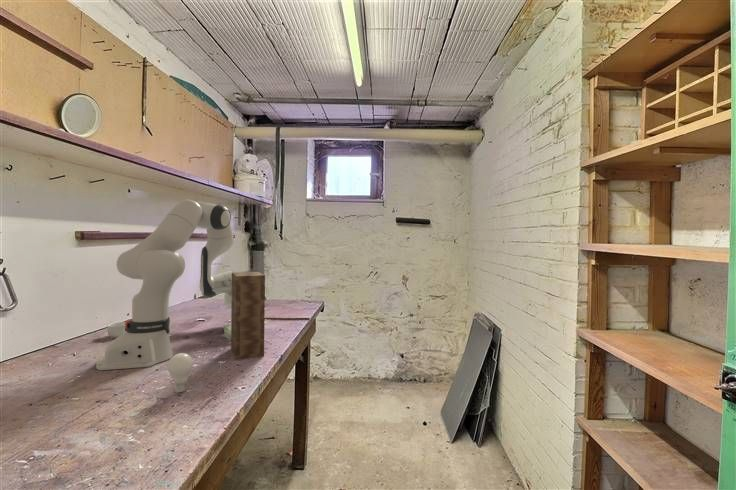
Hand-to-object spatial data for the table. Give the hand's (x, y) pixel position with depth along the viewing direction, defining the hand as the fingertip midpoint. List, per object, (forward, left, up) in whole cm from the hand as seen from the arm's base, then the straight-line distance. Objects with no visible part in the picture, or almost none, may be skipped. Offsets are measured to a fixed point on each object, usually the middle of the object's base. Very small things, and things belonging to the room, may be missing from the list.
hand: (239, 278), depth 155 cm
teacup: (-47, +21, -26) cm, 57 cm away
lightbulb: (-22, -52, -26) cm, 62 cm away
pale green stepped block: (-2, +5, -26) cm, 26 cm away
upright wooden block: (0, -24, -25) cm, 35 cm away
